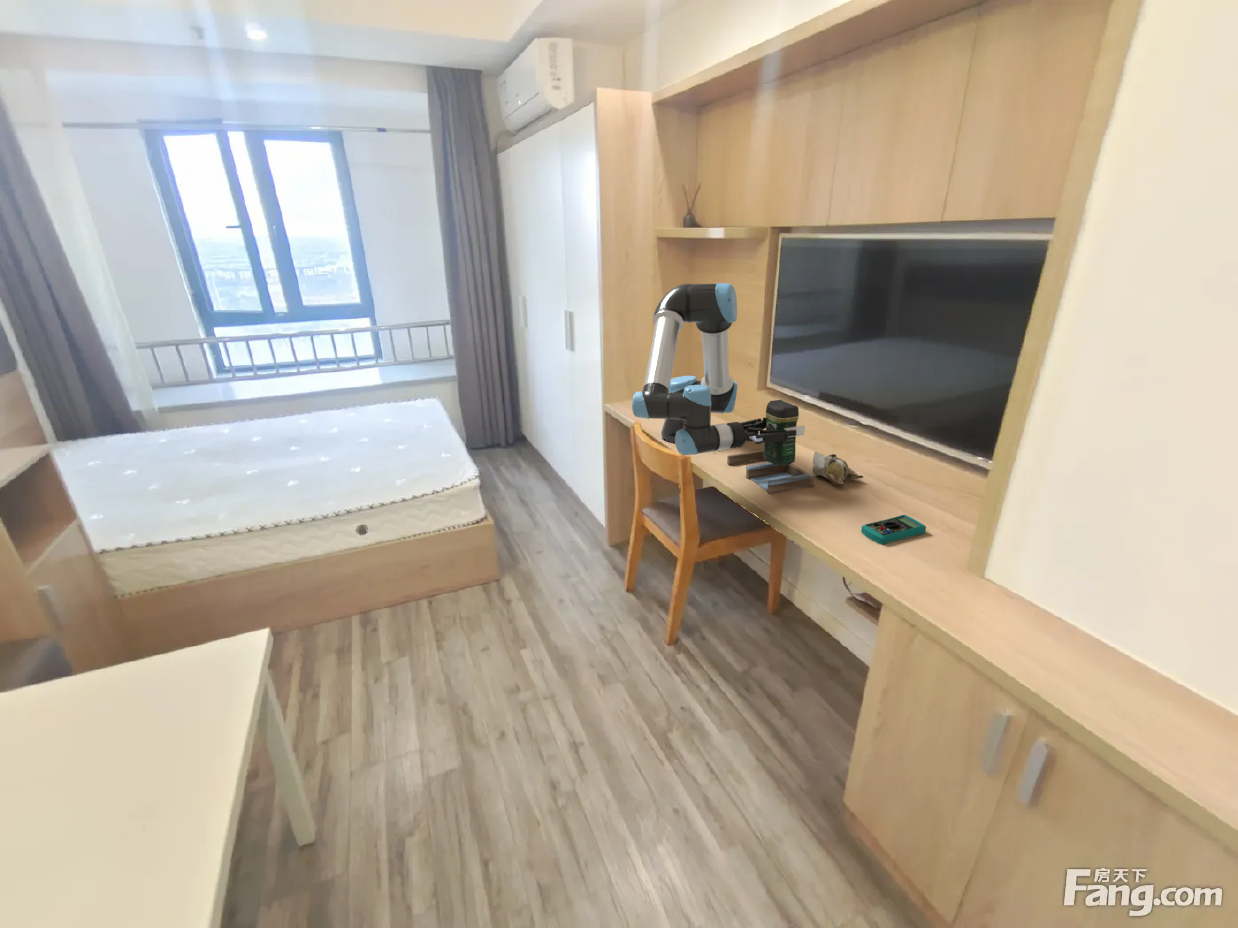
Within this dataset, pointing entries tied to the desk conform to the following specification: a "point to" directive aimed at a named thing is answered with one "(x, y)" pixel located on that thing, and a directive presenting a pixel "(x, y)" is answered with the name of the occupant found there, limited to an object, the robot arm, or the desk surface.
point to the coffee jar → (778, 419)
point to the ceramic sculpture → (833, 469)
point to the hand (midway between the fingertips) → (794, 426)
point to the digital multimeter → (893, 529)
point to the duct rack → (772, 473)
